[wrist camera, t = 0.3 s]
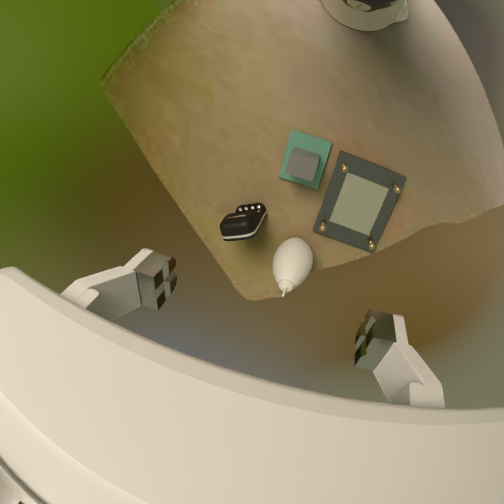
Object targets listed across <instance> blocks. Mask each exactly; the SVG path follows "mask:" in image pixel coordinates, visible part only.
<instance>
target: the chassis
mask: <svg viewBox="0 0 504 504" xmlns="http://www.w3.org/2000/svg"><path fill="white" fill-rule="evenodd" d="M405 179H406V177H404V176H402V175H400V174H398V173H396V172H393V171H391V170H389V169H386V168H384V167H382V166H379V165H377V164H374V163H372V162H369V161H367V160H364V159H362V158H359V157H357V156H354V155H351V154H349V153H346V152H343V151H340V154H339V157H338V160H337V163H336V166H335V169H334V172H333V175H332V178H331V181H330V183H329V186H328V189H327V192H326V195H325V198H324V201H323V203H322V206H321V209H320V212H319V214H318V217H317V220H316V223H315V225H314V228H313V231H314V232H317V233H320V234H323V235H326V236H328V237H331V238H334V239H337V240H340V241H342V242H345V243H348V244H351V245H353V246H356V247H359V248H361V249H364V250H367V251H369V252H373V250H374V249H375V246H376V244H377V242H378V240H379V237H380V235H381V233H382V231H383V229H384V227H385V225H386V223H387V221H388V218H389V216H390V214H391V212H392V210H393V207H394V205H395V203H396V201H397V198H398V196H399V194H400V193H401V189H402V186H403V184H404V182H405Z"/></svg>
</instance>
